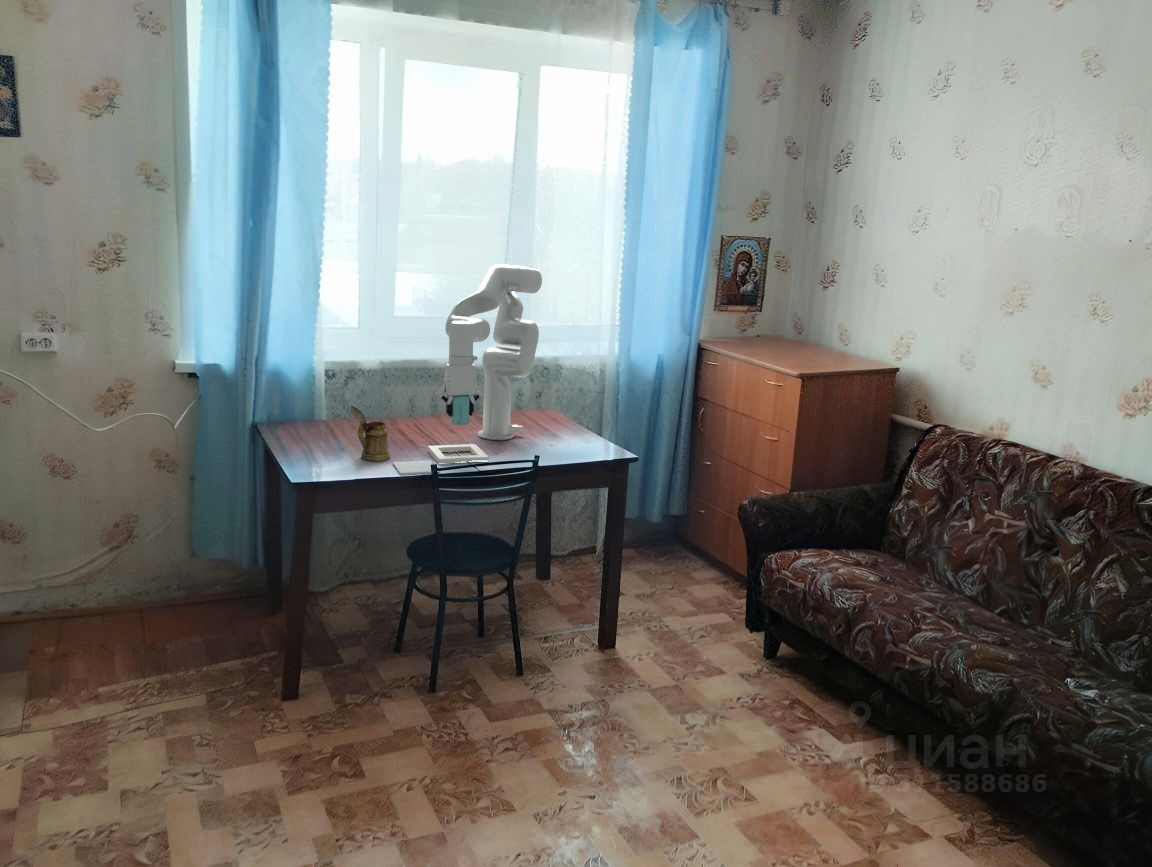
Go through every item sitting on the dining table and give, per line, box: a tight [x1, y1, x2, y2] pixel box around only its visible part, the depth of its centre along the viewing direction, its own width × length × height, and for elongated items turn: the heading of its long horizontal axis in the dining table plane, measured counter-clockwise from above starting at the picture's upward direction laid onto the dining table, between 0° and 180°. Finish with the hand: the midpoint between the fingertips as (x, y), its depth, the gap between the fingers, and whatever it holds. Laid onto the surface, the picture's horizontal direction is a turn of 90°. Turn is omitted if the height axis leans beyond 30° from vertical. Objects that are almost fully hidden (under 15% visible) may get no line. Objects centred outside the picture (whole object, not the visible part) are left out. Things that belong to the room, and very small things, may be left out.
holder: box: [427, 443, 489, 464], centre depth 319 cm, size 16×16×2 cm
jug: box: [449, 395, 470, 426], centre depth 315 cm, size 8×6×9 cm
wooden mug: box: [350, 405, 391, 462], centre depth 309 cm, size 9×14×18 cm, turn 134°
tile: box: [392, 459, 434, 476], centre depth 303 cm, size 12×12×1 cm
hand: (459, 414), depth 316 cm, fingers closed on jug, 6 cm apart
